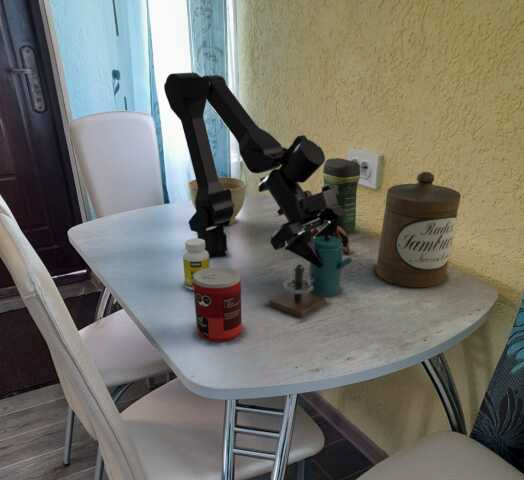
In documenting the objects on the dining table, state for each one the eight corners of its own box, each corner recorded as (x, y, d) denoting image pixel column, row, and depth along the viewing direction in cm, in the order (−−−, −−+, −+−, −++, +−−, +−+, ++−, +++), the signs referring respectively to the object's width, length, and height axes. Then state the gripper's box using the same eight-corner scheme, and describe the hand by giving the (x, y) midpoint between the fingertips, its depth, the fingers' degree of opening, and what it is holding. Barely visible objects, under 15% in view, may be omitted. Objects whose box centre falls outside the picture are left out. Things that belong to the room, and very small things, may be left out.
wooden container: (401, 292, 104) (418, 183, 93) (363, 267, 116) (374, 167, 105) (459, 282, 109) (482, 177, 98) (417, 258, 121) (433, 162, 109)
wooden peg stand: (294, 292, 104) (295, 254, 100) (326, 303, 100) (329, 263, 95) (269, 305, 99) (269, 265, 95) (301, 318, 95) (303, 276, 90)
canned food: (197, 323, 93) (193, 267, 87) (240, 321, 94) (239, 265, 88) (196, 344, 86) (191, 285, 81) (242, 342, 87) (241, 283, 81)
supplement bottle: (190, 293, 104) (186, 247, 99) (181, 283, 108) (177, 239, 103) (214, 288, 106) (212, 243, 101) (205, 278, 110) (202, 235, 105)
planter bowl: (245, 230, 139) (245, 190, 133) (187, 230, 139) (184, 189, 133) (248, 213, 152) (247, 176, 147) (194, 213, 153) (192, 176, 147)
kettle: (275, 304, 100) (277, 247, 93) (319, 281, 109) (323, 228, 103) (314, 319, 94) (318, 259, 88) (356, 293, 104) (362, 238, 98)
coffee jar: (359, 231, 138) (367, 160, 128) (338, 237, 134) (344, 164, 124) (336, 223, 144) (341, 154, 135) (314, 228, 141) (318, 158, 131)
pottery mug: (354, 260, 121) (341, 233, 116) (317, 273, 125) (303, 248, 119) (351, 232, 129) (339, 206, 124) (317, 245, 133) (304, 221, 128)
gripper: (283, 180, 89) (330, 254, 89) (341, 163, 101) (383, 229, 101) (250, 215, 98) (293, 283, 97) (308, 196, 110) (346, 256, 110)
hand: (331, 261), depth 101 cm, fingers closed on kettle, 6 cm apart
